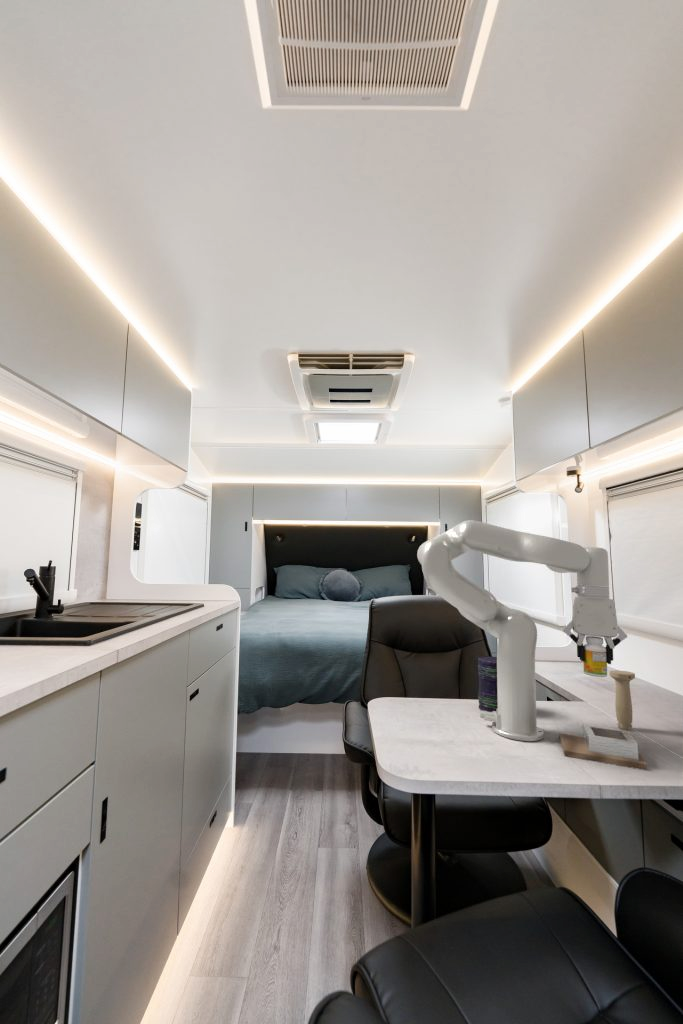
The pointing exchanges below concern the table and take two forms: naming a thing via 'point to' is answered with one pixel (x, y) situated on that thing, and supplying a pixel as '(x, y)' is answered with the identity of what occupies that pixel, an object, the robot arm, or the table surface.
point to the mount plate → (578, 749)
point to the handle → (623, 698)
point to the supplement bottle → (595, 657)
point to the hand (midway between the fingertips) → (595, 661)
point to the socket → (610, 742)
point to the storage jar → (487, 683)
